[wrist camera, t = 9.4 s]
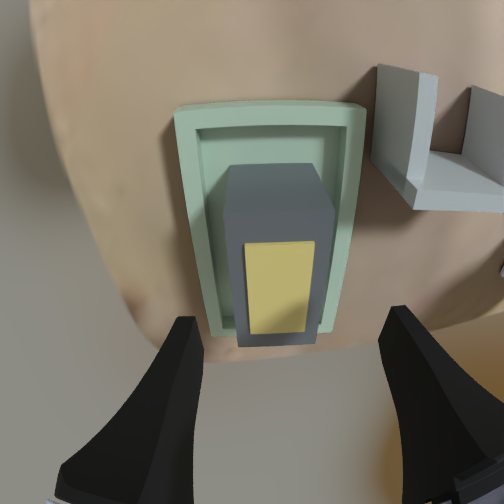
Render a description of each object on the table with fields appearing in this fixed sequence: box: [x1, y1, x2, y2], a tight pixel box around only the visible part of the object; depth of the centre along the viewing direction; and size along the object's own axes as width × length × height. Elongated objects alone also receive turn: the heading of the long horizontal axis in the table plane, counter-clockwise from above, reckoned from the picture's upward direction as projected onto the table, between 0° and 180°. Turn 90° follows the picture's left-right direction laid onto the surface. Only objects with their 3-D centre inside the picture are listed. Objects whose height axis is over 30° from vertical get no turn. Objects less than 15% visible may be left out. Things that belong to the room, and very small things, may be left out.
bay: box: [370, 64, 504, 213], centre depth 13 cm, size 6×8×6 cm
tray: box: [173, 100, 367, 337], centre depth 19 cm, size 17×10×2 cm, turn 2°
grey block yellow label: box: [223, 163, 336, 347], centre depth 17 cm, size 9×5×6 cm, turn 2°
